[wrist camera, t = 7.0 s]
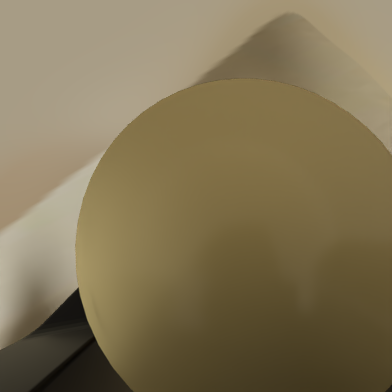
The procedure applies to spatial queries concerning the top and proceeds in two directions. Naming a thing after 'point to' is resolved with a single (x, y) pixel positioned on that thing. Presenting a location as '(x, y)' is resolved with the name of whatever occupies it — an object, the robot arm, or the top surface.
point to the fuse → (241, 245)
